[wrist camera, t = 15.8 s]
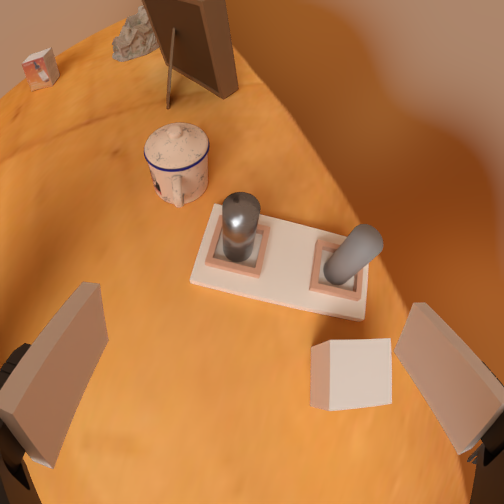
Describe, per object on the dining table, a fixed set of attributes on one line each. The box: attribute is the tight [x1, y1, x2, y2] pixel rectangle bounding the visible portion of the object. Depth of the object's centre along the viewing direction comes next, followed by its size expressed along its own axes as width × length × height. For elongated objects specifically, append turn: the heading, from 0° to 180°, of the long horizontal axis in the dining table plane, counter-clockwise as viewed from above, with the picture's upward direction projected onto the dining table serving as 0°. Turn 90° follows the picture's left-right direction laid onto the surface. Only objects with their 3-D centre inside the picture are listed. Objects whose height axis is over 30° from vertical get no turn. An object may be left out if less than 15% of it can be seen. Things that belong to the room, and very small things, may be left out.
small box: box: [22, 48, 60, 91], centre depth 51 cm, size 8×6×10 cm
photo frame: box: [142, 0, 239, 109], centre depth 45 cm, size 15×22×25 cm
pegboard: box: [190, 203, 383, 322], centre depth 36 cm, size 24×12×12 cm, turn 78°
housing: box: [310, 338, 392, 411], centre depth 32 cm, size 8×8×7 cm
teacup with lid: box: [144, 123, 209, 207], centre depth 39 cm, size 12×9×12 cm
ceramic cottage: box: [112, 6, 159, 62], centre depth 58 cm, size 16×16×15 cm
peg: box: [222, 192, 260, 262], centre depth 35 cm, size 4×4×10 cm
